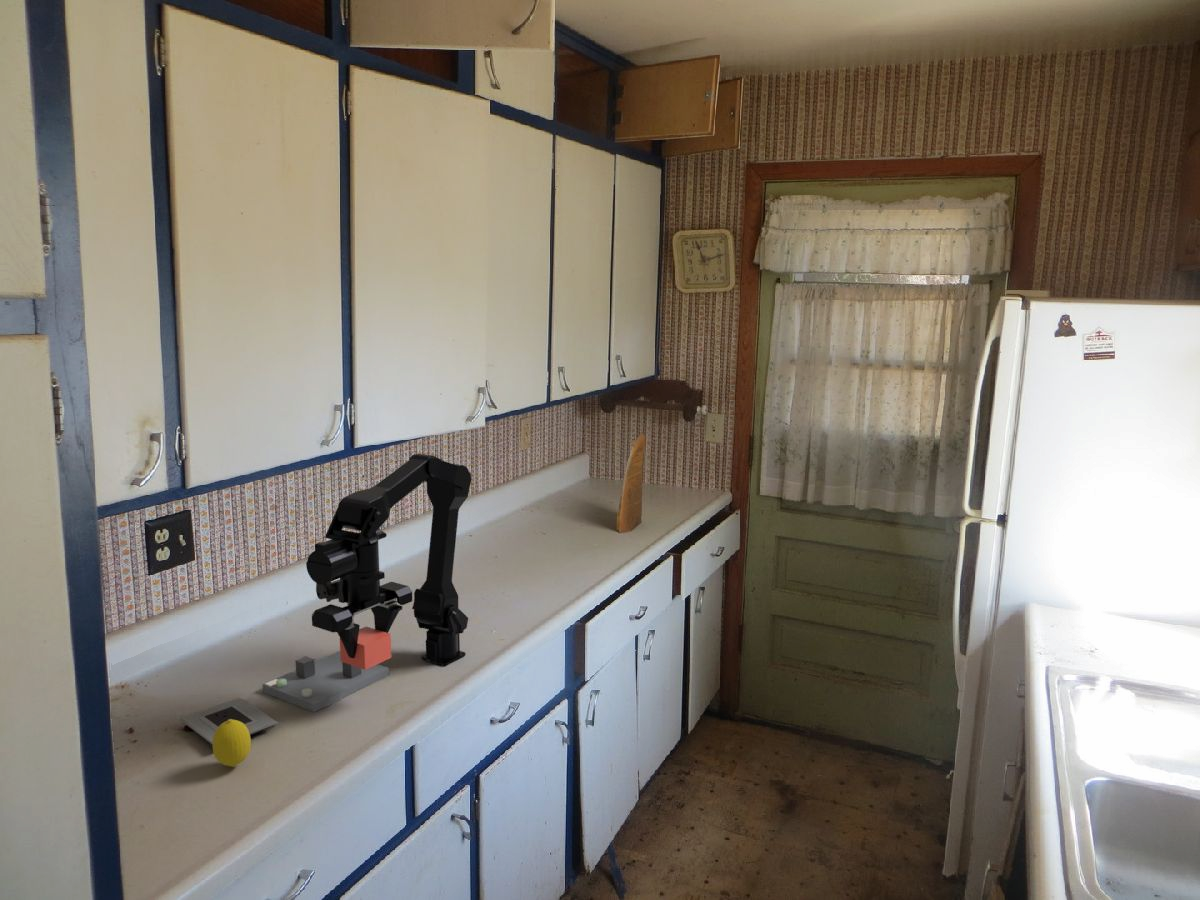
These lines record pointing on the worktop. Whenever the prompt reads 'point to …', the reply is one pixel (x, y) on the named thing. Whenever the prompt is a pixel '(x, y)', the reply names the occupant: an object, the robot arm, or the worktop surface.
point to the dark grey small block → (350, 670)
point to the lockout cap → (368, 648)
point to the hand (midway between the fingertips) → (365, 651)
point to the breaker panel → (322, 683)
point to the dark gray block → (305, 667)
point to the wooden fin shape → (632, 489)
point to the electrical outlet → (219, 714)
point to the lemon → (231, 743)
